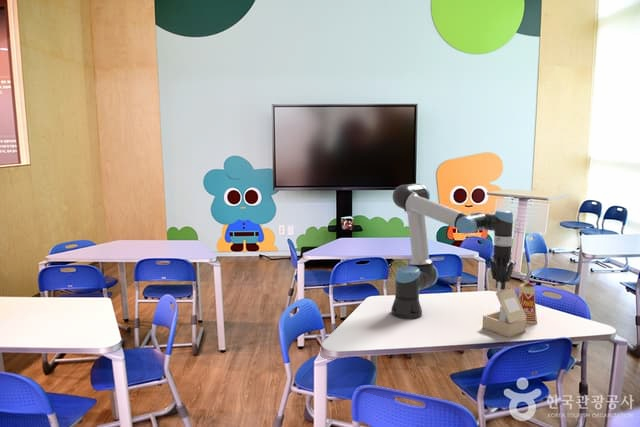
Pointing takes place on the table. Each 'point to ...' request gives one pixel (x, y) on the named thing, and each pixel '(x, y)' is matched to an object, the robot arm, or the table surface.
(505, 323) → the box
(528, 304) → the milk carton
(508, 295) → the lid
